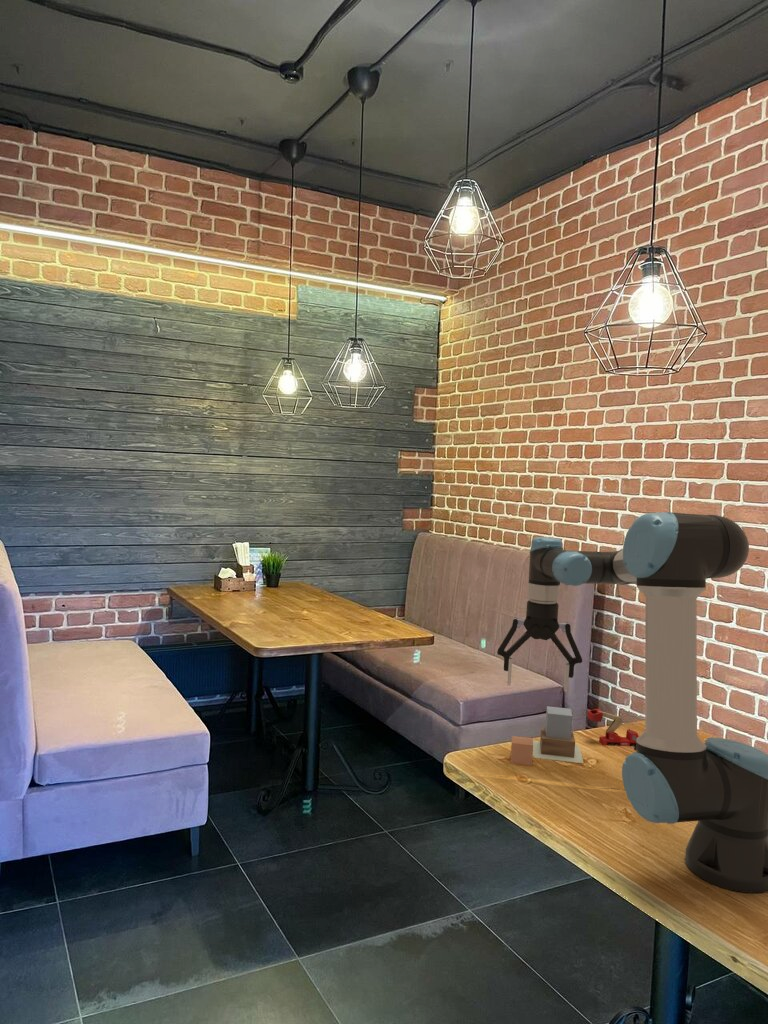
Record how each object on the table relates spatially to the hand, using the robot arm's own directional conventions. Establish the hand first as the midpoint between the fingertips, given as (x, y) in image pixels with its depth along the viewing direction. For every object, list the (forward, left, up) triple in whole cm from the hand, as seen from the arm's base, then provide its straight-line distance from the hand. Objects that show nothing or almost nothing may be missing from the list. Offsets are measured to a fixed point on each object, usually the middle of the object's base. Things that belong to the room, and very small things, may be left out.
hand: (537, 687), depth 185 cm
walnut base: (+7, -6, -18) cm, 20 cm away
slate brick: (+7, -6, -14) cm, 17 cm away
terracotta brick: (-3, +3, -19) cm, 19 cm away
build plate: (+6, -6, -19) cm, 20 cm away
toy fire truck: (+17, -21, -19) cm, 33 cm away
